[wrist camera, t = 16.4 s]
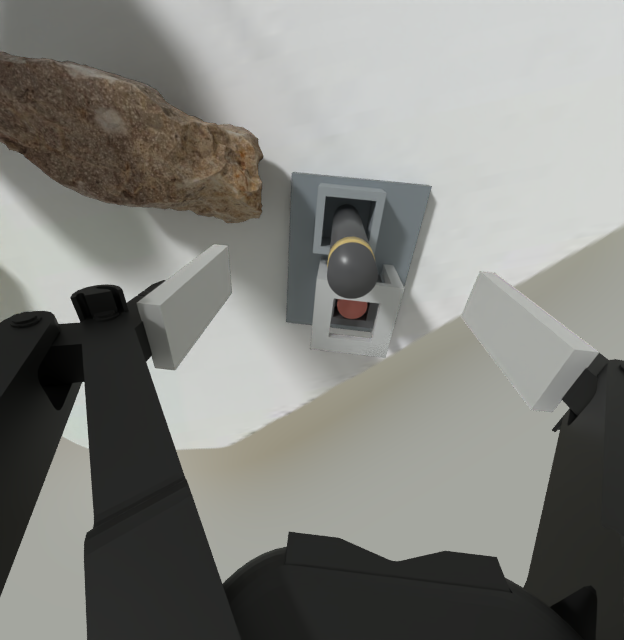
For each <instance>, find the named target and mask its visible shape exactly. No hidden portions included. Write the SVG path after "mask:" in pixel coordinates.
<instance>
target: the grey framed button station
mask: <svg viewBox="0 0 624 640" xmlns="http://www.w3.org/2000/svg"><path fill="white" fill-rule="evenodd" d="M431 187H432V186H429V185H421V184H411V183H401V182H390V181H380V180H370V179H359V178H349V177H339V176H328V175H318V174H308V173H297V172H293V173H292V186H291V212H290V238H289V264H288V290H287V316H286V322H289V323H297V324H306V325H312V333H311V343H310V349H314V350H323V351H331V352H340V353H348V354H357V355H365V356H374V357H382V358H386V354H387V351H388V347H389V343H390V340H391V336H392V332H393V329H394V325H395V322H396V318H397V314H398V311H399V307H400V303H401V300H402V296H403V293H404V289H405V288H404V286H405V282H406V278H407V275H408V271H409V267H410V264H411V260H412V256H413V253H414V249H415V245H416V242H417V238H418V234H419V231H420V227H421V223H422V220H423V216H424V212H425V209H426V205H427V201H428V198H429V194H430V191H431ZM344 204H350V205H353V206H354V207H355V208H356V209H357V210H358V212H359V215H360V218H361V221H362V224H363V227H364V230H365V233H366V236H367V239H368V242H369V245H370V247H371V249H372V251H373V254H374V257H375V263H376V266H377V269H378V279H377V282H376V285H375V286H374V288H373V289H372V290H371V291H370V292H369V293H368V294H366V295H365V296H363V297H360V298H356V299H347V298H343V297H341V296H339V295H337V294H336V293H334V292H333V291H332V289H331V288H330V286H329V284H328V280H327V270H328V267H327V263H328V255H329V252H330V243H331V233H332V224H333V216H334V213H335V211H336V209H337V208H338V207H339V206H341V205H344ZM338 299H344V300H353V301H362V302H367V310H366V312H365V313H364V314H363V315H362V316H361V317H359V318H356V319H348V318H345V317H343V316H342V315H341V314H340V313H339V311H338V308H337V300H338ZM330 327H332V328H341V329H350V330H358V331H367V332H371V335H372V337H371V338H365V337H356V336H347V335H339V334H330V333H329V330H330Z"/></svg>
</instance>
